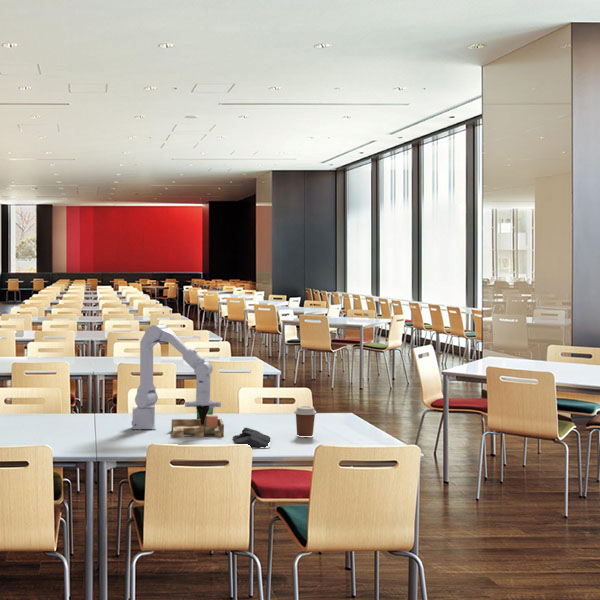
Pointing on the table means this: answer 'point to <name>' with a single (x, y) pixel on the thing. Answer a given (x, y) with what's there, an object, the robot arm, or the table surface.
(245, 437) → the dark slate chunk
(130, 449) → the table surface
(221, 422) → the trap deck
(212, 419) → the clay-red block
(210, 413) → the food container
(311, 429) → the coffee cup
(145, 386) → the robot arm
